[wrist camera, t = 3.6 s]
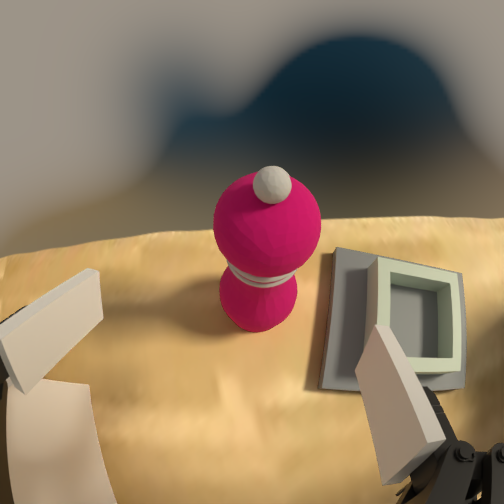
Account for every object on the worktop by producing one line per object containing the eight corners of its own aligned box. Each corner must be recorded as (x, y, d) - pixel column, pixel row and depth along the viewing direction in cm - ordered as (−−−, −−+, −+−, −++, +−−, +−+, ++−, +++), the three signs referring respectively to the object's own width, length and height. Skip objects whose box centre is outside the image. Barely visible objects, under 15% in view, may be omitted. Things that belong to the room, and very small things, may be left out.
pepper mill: (302, 304, 29) (380, 181, 12) (255, 350, 27) (277, 283, 9) (256, 261, 32) (270, 109, 14) (209, 302, 29) (159, 171, 12)
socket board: (455, 277, 31) (474, 264, 27) (457, 388, 24) (479, 385, 20) (333, 252, 32) (344, 233, 28) (317, 388, 25) (330, 388, 21)
